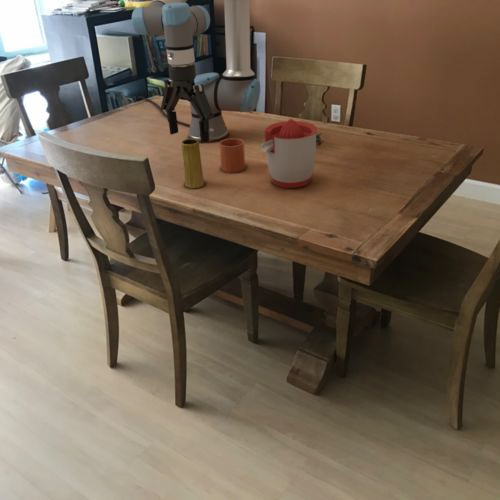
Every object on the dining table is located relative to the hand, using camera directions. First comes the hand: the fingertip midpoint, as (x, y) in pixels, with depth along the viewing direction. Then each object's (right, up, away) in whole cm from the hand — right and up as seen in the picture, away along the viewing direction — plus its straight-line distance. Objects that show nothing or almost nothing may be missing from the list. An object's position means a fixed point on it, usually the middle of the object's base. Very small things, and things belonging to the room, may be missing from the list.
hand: (189, 137), depth 155 cm
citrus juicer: (+31, -13, +7) cm, 34 cm away
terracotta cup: (+13, -6, +18) cm, 23 cm away
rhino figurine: (+40, +5, +34) cm, 53 cm away
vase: (+1, -13, +8) cm, 16 cm away
